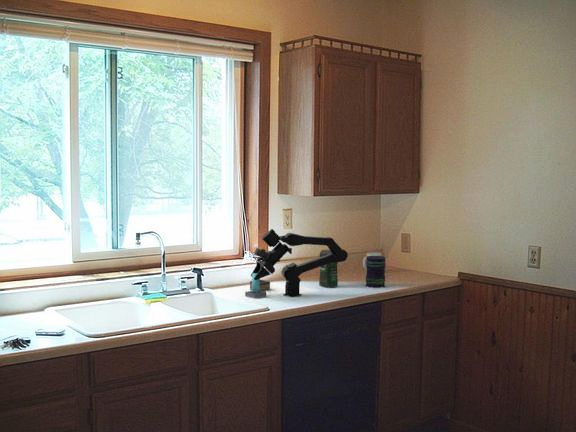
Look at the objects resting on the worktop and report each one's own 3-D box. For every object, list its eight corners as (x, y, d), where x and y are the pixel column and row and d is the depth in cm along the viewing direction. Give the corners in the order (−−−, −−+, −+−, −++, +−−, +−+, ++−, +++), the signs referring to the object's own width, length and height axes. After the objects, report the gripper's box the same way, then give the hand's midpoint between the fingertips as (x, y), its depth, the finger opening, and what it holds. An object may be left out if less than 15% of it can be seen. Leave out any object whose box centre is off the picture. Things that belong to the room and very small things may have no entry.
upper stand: (269, 290, 318) (270, 281, 317) (259, 291, 313) (259, 283, 313) (260, 288, 323) (260, 279, 322) (249, 289, 318) (249, 281, 318)
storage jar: (388, 285, 333) (388, 256, 332) (380, 288, 325) (380, 259, 324) (370, 283, 338) (371, 255, 337) (362, 286, 330) (362, 257, 329)
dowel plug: (259, 294, 303) (259, 273, 303) (259, 295, 300) (260, 274, 299) (251, 294, 303) (252, 273, 303) (252, 295, 300) (252, 274, 299)
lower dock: (266, 296, 301) (266, 292, 301) (254, 298, 297) (254, 294, 296) (256, 294, 307) (256, 290, 306) (245, 296, 302) (245, 291, 302)
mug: (374, 270, 381) (374, 252, 380) (384, 272, 374) (384, 253, 373) (358, 272, 375) (358, 253, 374) (367, 274, 368) (368, 255, 367)
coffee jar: (340, 287, 327) (341, 250, 326) (327, 288, 323) (328, 251, 322) (329, 284, 336) (329, 248, 334) (316, 285, 331) (317, 249, 330)
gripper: (261, 239, 310) (237, 263, 308) (268, 244, 291) (243, 269, 290) (277, 255, 312) (254, 279, 310) (285, 261, 294) (260, 286, 292)
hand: (252, 277), depth 301 cm, fingers open, 9 cm apart
